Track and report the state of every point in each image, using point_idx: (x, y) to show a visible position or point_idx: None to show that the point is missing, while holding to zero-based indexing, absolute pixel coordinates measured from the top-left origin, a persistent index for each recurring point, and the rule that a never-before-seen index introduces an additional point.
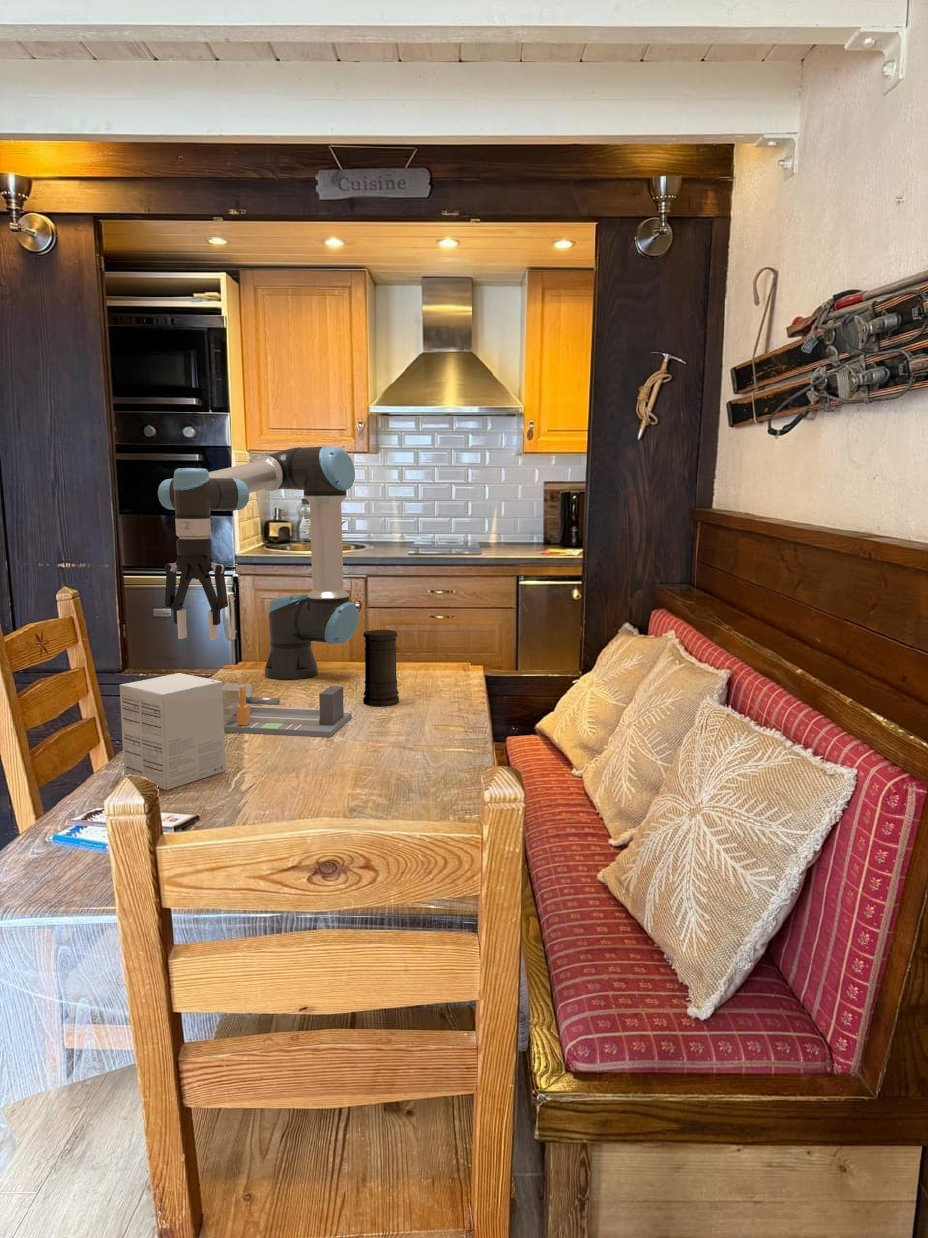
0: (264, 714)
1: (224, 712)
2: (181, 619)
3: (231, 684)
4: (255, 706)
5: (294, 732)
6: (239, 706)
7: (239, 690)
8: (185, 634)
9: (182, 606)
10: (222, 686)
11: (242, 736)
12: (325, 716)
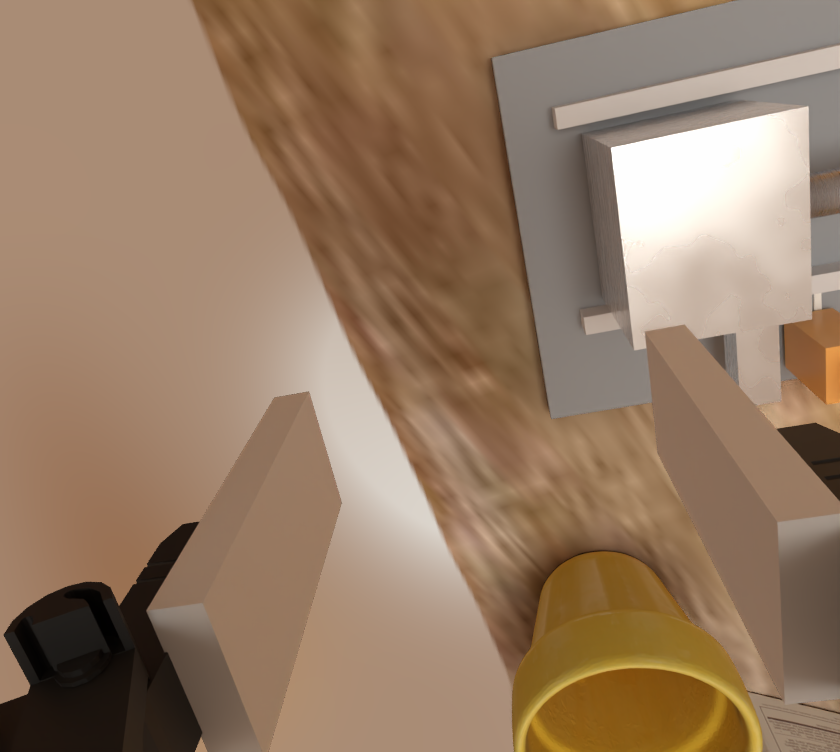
0: (828, 112)
1: None
2: (289, 625)
3: (667, 173)
4: (754, 67)
5: None
6: (837, 389)
7: (811, 306)
8: (308, 432)
9: (133, 658)
10: (639, 251)
11: (831, 409)
12: None
